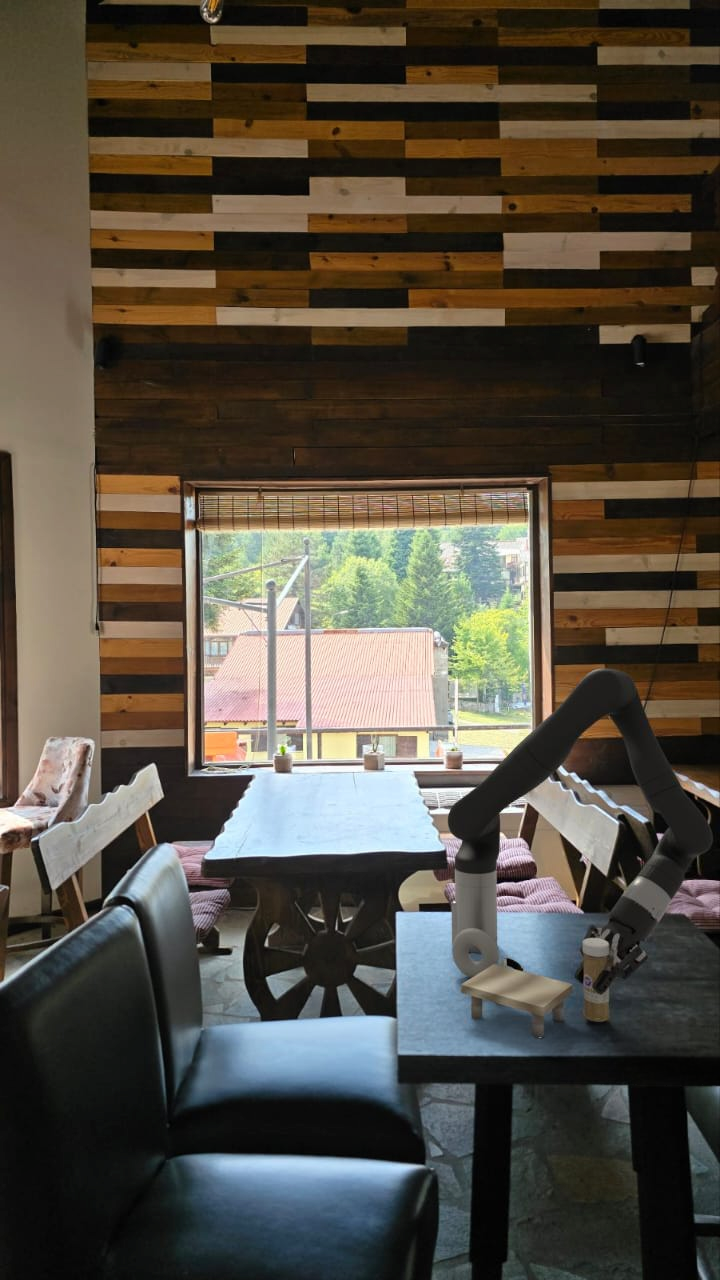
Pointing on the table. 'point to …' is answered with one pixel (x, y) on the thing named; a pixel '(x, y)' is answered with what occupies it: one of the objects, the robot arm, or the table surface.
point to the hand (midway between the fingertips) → (587, 985)
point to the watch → (511, 964)
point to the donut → (480, 941)
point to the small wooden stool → (518, 994)
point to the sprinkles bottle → (593, 966)
